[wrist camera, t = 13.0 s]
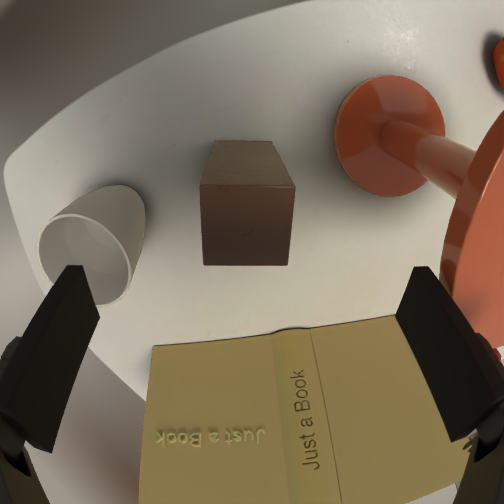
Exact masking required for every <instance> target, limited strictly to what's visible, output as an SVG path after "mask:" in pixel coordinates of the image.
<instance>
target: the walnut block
mask: <svg viewBox="0 0 504 504" xmlns="http://www.w3.org/2000/svg"><path fill="white" fill-rule="evenodd" d="M199 187H200V212H201V233H202V251H203V264H204V265H226V266H286V265H288V257H289V248H290V238H291V229H292V219H293V208H294V198H295V185H294V183H293V181H292V179H291V177H290V175H289V173H288V171H287V170H286V168H285V166H284V164H283V162H282V160H281V158H280V156H279V154H278V153H277V151H276V149H275V147H274V145H273V143H272V142H271V141H215V142H214V145H213V148H212V151H211V153H210V156H209V159H208V162H207V165H206V168H205V171H204V174H203V177H202V180H201V183H200V186H199Z"/></svg>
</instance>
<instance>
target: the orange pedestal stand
mask: <svg viewBox="0 0 504 504" xmlns="http://www.w3.org/2000/svg"><path fill="white" fill-rule="evenodd" d="M334 145H335V149H336V154H337V156H338V159H339V162H340V164H341V166H342V167H343V169H344V170H345V172H346V173H347V175H348V176H349V177H350V178H351V179H352V180H353V181H354V182H355V183H356V184H357V185H359V186H360V187H361V188H363V189H364V190H366V191H368V192H370V193H372V194H376V195H379V196H385V197H394V196H401V195H404V194H407V193H410V192H412V191H414V190H416V189H417V188H419V187H420V186H422V185H423V184H424V183H425V182H426V181H427V180H429V181H430V182H432V183H433V184H435V185H436V186H438V187H439V188H440V189H442V190H443V191H445V192H446V193H447V194H449V195H450V196H451V197H453V198H454V199H456V202H455V205H454V208H453V211H452V214H451V217H450V220H449V224H448V228H447V232H446V236H445V239H444V245H443V250H442V256H441V262H440V274H439V281H440V282H441V284H442V285H443V286H444V288H445V289H446V290H447V292H448V293H449V295H450V296H451V297H452V299H453V300H454V302H455V303H456V304H457V306H458V307H459V309H460V310H461V312H462V313H463V315H464V316H465V317H466V319H467V320H468V322H469V323H470V325H471V326H472V328H473V330H474V331H475V333H478V332H479V333H480V334H481V335H482V336H483V337H484V338H485V339H486V340H488V342H489V343H490V345H491V346H492V348H497V347H501V346H503V345H504V110H503V111H502V113H501V114H500V115H499V116H498V118H497V119H496V120H495V122H494V123H493V125H492V126H491V128H490V129H489V131H488V132H487V134H486V136H485V137H484V139H483V141H482V143H481V145H480V146H479V148H478V150H477V152H476V151H474V150H472V149H470V148H468V147H466V146H464V145H461V144H459V143H457V142H455V141H452V140H450V139H448V138H445V126H444V121H443V117H442V114H441V111H440V109H439V107H438V105H437V103H436V102H435V100H434V98H433V97H432V96H431V95H430V94H429V92H428V91H427V90H425V89H424V88H423V87H422V86H421V85H419V84H418V83H416V82H414V81H412V80H410V79H407V78H404V77H400V76H393V75H383V76H376V77H373V78H370V79H367V80H365V81H363V82H362V83H360V84H359V85H357V86H356V87H355V88H354V89H353V90H351V91H350V93H349V94H348V95H347V96H346V97H345V99H344V101H343V102H342V104H341V106H340V108H339V110H338V113H337V116H336V120H335V126H334Z"/></svg>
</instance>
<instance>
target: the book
mask: <svg viewBox="0 0 504 504" xmlns="http://www.w3.org/2000/svg"><path fill="white" fill-rule="evenodd" d="M468 441H470V440H469V437H468V436H467V437H465V438H462V439H460V440H457V441H455V442H452V443H451V441H450V439H449V436H448V433H447V431H446V428H445V426H444V423H443V420H442V418H441V415H440V413H439V411H438V408H437V406H436V403H435V401H434V399H433V396H432V394H431V392H430V389H429V387H428V385H427V383H426V380H425V378H424V376H423V374H422V371H421V369H420V367H419V365H418V363H417V361H416V358H415V356H414V354H413V352H412V350H411V348H410V346H409V344H408V342H407V340H406V338H405V336H404V334H403V332H402V330H401V328H400V326H399V324H398V322H397V320H396V318H395V315H393V316H387V317H382V318H376V319H370V320H365V321H359V322H352V323H346V324H339V325H333V326H326V327H319V328H311V329H309V330H308V329H292V330H284V331H280V332H277V333H274V334H272V335H263V336H256V337H248V338H239V339H231V340H222V341H212V342H202V343H191V344H178V345H165V346H154V347H153V354H152V361H151V368H150V375H149V383H148V391H147V400H146V409H145V418H144V428H143V440H142V452H141V466H140V485H139V504H405V503H407V502H410V501H413V500H415V499H418V498H421V497H423V496H426V495H428V494H431V493H433V492H436V491H438V490H440V489H442V488H445V487H447V486H449V485H451V484H453V483H456V482H458V481H460V480H462V477H463V474H464V471H465V468H466V464H467V461H468V458H469V454H470V452H468V450H469V449H470V448H471V445H470V446H469V447H468V448H467V449H465V450H462V449H463V447H464V445H465V444H466V443H467V442H468Z"/></svg>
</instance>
